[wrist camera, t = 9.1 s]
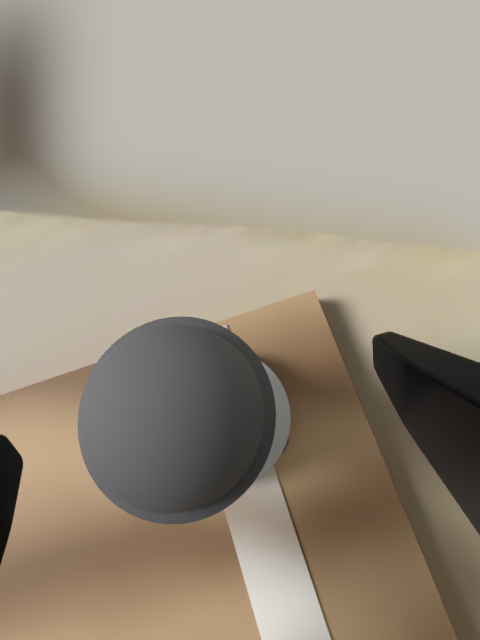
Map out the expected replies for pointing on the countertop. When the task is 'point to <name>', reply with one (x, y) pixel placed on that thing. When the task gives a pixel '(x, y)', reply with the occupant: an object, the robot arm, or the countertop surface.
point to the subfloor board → (221, 523)
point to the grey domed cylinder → (180, 420)
